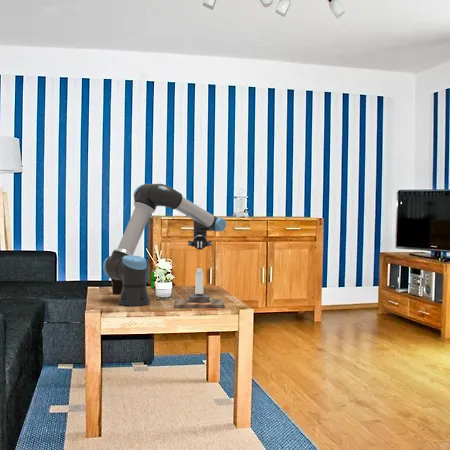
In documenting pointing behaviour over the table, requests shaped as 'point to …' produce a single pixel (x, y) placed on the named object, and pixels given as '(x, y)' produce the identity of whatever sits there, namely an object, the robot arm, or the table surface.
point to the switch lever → (199, 282)
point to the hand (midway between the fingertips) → (199, 245)
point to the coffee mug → (117, 286)
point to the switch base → (214, 304)
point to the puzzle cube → (155, 279)
